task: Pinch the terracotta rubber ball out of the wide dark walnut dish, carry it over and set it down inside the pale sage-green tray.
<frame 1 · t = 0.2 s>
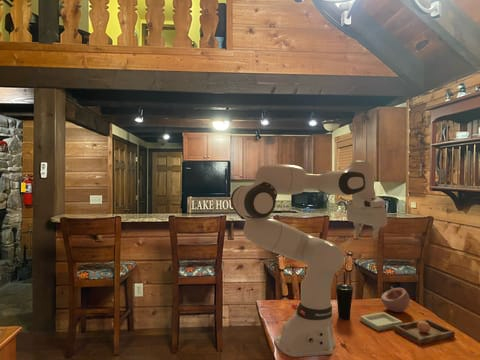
hand: (366, 234, 127), 39 cm above the table, tool pointing down, fingers open, 8 cm apart
tray: (380, 323, 135), on the table
mortar and pestle: (395, 311, 148), on the table
ball: (423, 326, 126), point 3 cm above the table, touching dish
dish: (423, 333, 126), on the table
drinking cup: (344, 318, 140), on the table
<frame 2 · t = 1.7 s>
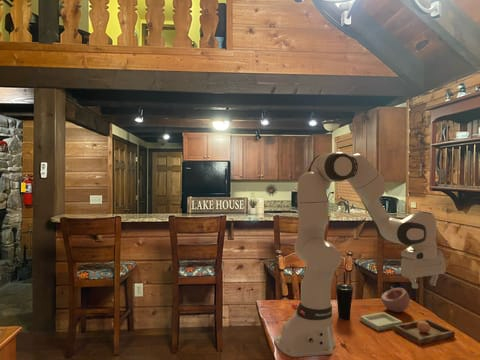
hand: (424, 286, 126), 19 cm above the table, tool pointing down, fingers open, 8 cm apart
nothing on the table moved.
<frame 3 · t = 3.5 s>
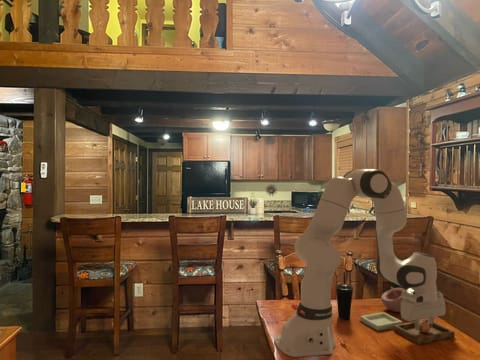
hand: (423, 328, 126), 2 cm above the table, tool pointing down, fingers closed on ball, 4 cm apart
ball: (423, 326, 126), point 3 cm above the table, touching dish, gripper
everything else where it was.
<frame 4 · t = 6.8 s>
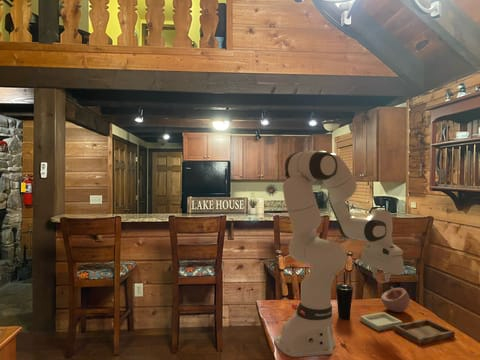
hand: (381, 279, 135), 19 cm above the table, tool pointing down, fingers closed on ball, 4 cm apart
ball: (381, 278, 135), point 19 cm above the table, touching gripper
everything else where it was.
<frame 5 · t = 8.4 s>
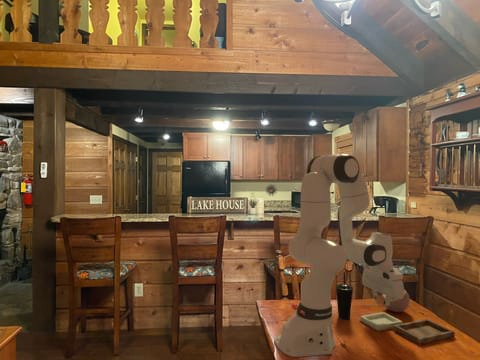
hand: (381, 302, 135), 9 cm above the table, tool pointing down, fingers closed on ball, 4 cm apart
ball: (381, 300, 135), point 10 cm above the table, touching gripper
everything else where it was.
when the fingers open (4 cm above the table, at t = 9.7 s): ball drops 2 cm, resting on tray.
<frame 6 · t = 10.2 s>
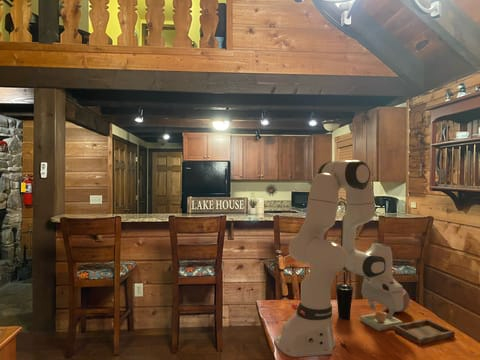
hand: (380, 313, 135), 4 cm above the table, tool pointing down, fingers open, 8 cm apart
ball: (380, 316, 135), point 3 cm above the table, touching tray
everything else where it was.
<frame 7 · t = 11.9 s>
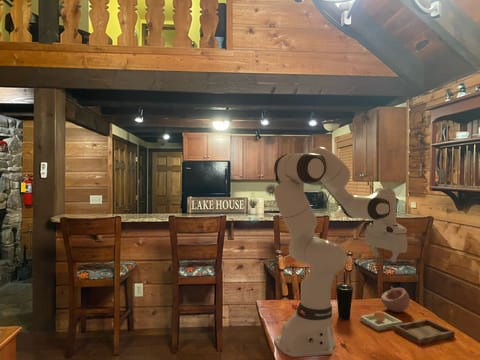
hand: (384, 259, 134), 28 cm above the table, tool pointing down, fingers open, 8 cm apart
ball: (379, 316, 135), point 3 cm above the table, tilted 18°, touching tray
everything else where it was.
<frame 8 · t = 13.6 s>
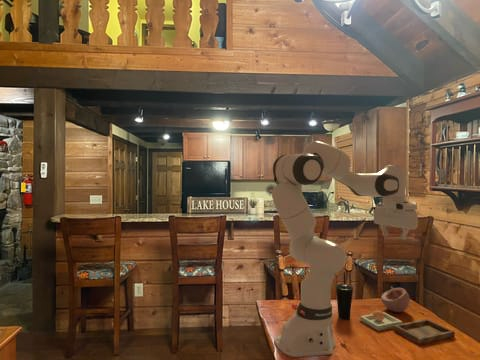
hand: (394, 237, 132), 37 cm above the table, tool pointing down, fingers open, 8 cm apart
ball: (378, 315, 136), point 3 cm above the table, tilted 33°, touching tray
everything else where it was.
at the end: ball inside the target area on the tray (1.3 cm from its centre), point 2.8 cm above the tray's base; the gripper is holding nothing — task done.
